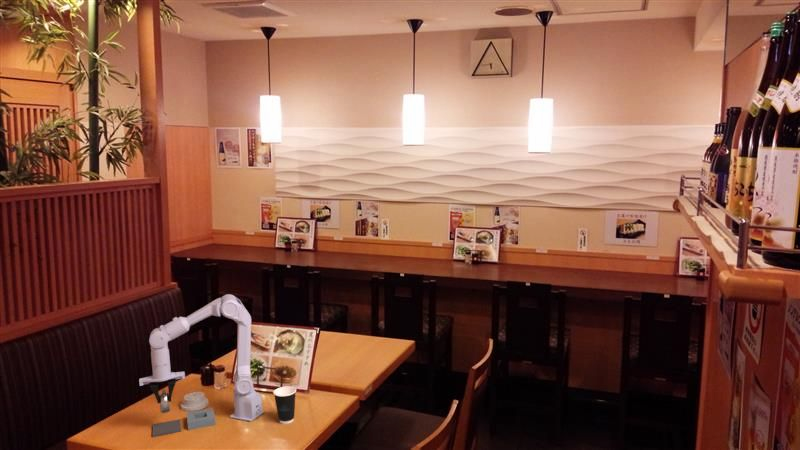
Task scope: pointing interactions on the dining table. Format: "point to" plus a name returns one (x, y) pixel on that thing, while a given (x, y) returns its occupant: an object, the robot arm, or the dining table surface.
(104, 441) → the dining table surface
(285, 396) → the dixie cup
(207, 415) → the socket block
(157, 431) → the key mat
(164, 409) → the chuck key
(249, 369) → the robot arm
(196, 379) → the dining table surface
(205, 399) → the mechanical component
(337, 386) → the dining table surface
